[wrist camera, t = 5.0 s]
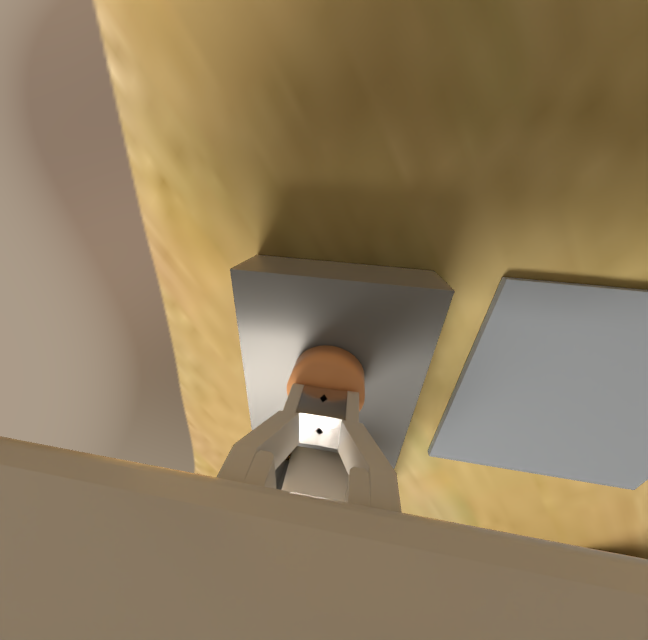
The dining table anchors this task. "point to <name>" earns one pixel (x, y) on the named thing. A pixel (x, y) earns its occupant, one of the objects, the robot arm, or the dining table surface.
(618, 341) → the mat
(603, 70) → the dining table surface
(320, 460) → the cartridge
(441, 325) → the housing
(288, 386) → the orange flat dome
